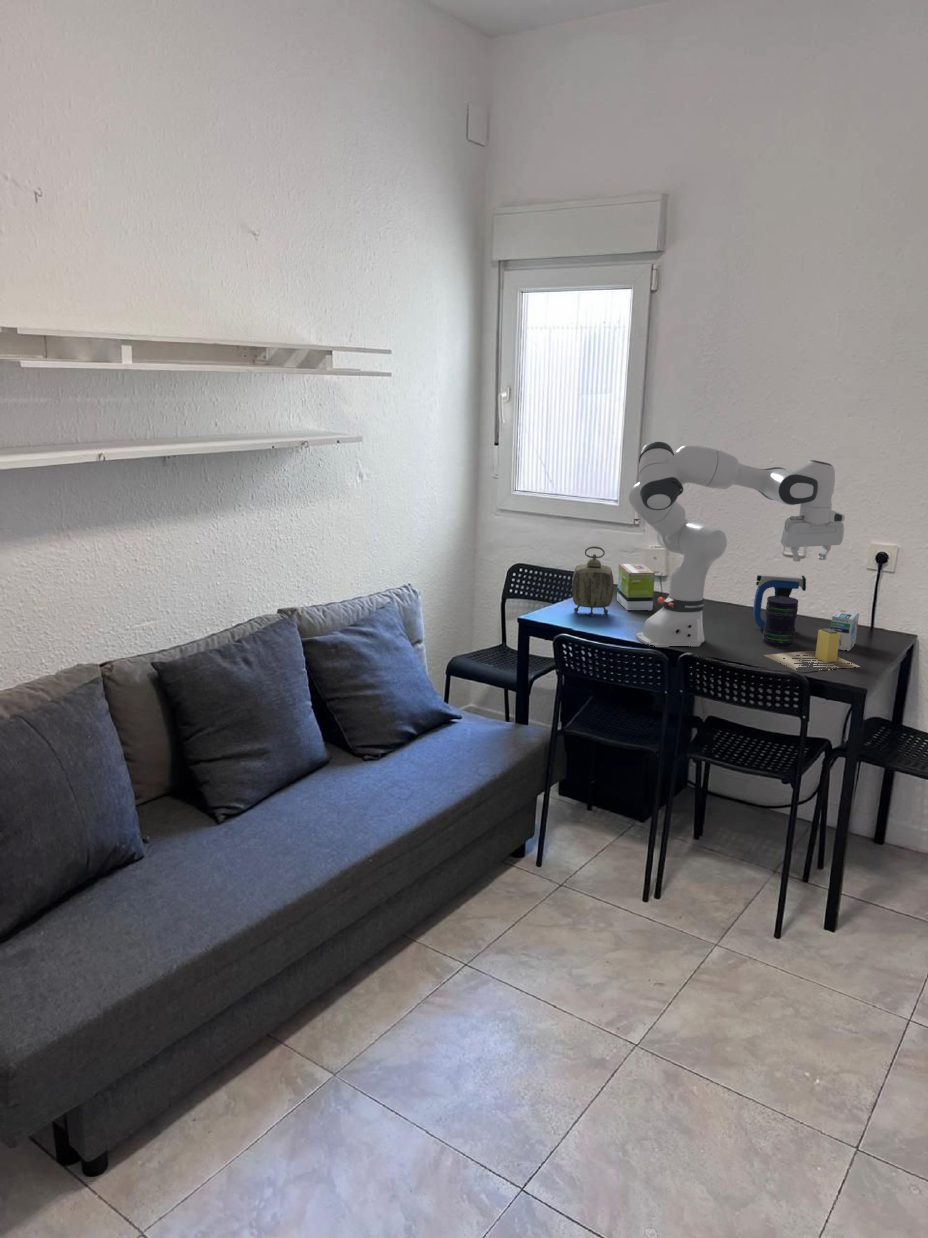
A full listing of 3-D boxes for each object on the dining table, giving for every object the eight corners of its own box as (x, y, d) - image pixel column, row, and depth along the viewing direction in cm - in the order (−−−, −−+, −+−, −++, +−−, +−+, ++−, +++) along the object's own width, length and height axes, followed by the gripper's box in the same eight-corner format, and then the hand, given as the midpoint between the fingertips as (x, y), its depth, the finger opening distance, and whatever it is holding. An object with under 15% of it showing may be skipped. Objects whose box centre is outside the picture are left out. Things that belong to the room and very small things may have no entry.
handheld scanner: (801, 634, 319) (807, 577, 315) (752, 630, 322) (757, 574, 318) (799, 631, 324) (805, 575, 319) (750, 627, 327) (756, 572, 322)
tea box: (615, 600, 359) (618, 563, 355) (641, 600, 360) (644, 563, 356) (626, 611, 345) (629, 571, 341) (653, 611, 346) (656, 571, 342)
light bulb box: (849, 651, 302) (853, 619, 299) (827, 648, 305) (831, 616, 302) (855, 643, 310) (859, 612, 308) (834, 640, 314) (838, 609, 311)
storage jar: (799, 646, 306) (805, 602, 302) (773, 648, 303) (778, 603, 299) (781, 638, 315) (786, 594, 311) (756, 640, 312) (760, 596, 308)
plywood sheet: (800, 673, 279) (801, 673, 279) (763, 655, 295) (763, 655, 295) (860, 667, 286) (860, 666, 286) (820, 649, 303) (820, 649, 303)
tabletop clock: (610, 612, 342) (615, 545, 335) (611, 619, 333) (616, 550, 326) (570, 610, 343) (574, 543, 336) (570, 617, 334) (574, 548, 328)
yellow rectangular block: (825, 662, 290) (829, 633, 287) (815, 657, 294) (818, 628, 292) (836, 661, 291) (840, 632, 289) (825, 656, 296) (829, 627, 293)
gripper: (792, 518, 276) (787, 564, 279) (849, 515, 282) (843, 560, 286) (779, 514, 281) (774, 559, 285) (835, 512, 288) (829, 556, 292)
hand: (809, 560), depth 286 cm, fingers open, 8 cm apart
